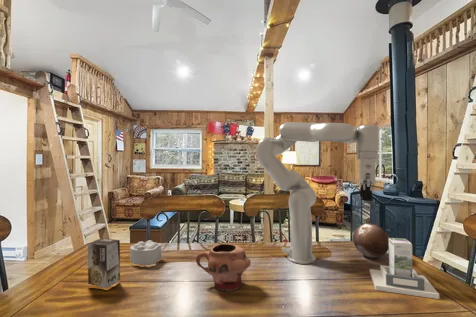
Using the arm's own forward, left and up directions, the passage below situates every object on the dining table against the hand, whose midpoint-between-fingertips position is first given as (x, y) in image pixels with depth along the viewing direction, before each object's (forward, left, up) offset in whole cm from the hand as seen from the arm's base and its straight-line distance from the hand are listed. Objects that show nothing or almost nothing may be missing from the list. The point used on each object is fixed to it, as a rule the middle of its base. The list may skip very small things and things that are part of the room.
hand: (365, 198), depth 101 cm
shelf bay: (+10, -8, -29) cm, 32 cm away
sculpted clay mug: (-50, -29, -29) cm, 65 cm away
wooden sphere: (+4, +18, -29) cm, 35 cm away
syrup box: (+10, -8, -28) cm, 31 cm away
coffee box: (-91, -43, -29) cm, 105 cm away
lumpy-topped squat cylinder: (-92, -20, -29) cm, 99 cm away
